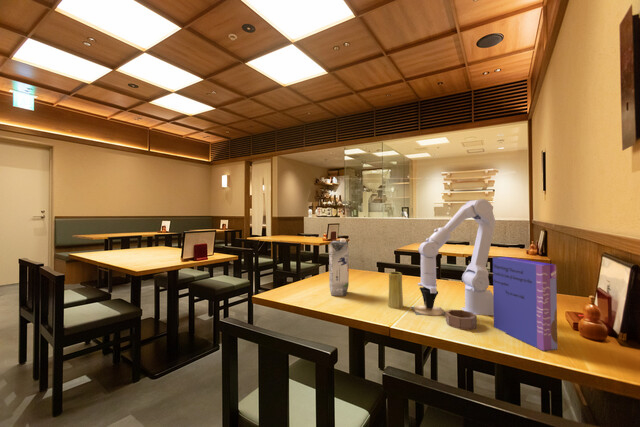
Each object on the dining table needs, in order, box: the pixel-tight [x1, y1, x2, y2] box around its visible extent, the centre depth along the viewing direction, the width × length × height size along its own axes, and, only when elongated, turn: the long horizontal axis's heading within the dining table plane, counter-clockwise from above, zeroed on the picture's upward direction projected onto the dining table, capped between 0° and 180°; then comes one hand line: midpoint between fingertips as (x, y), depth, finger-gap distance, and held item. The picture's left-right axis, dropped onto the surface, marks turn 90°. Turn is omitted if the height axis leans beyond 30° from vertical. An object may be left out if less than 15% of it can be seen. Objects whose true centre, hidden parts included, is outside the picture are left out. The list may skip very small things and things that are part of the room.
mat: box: [410, 306, 446, 317], centre depth 115 cm, size 12×10×1 cm
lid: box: [413, 301, 445, 317], centre depth 115 cm, size 11×11×6 cm
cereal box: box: [492, 256, 559, 352], centre depth 90 cm, size 17×5×24 cm, turn 12°
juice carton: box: [328, 238, 350, 297], centre depth 143 cm, size 9×10×27 cm
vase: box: [387, 271, 404, 310], centre depth 121 cm, size 6×6×14 cm
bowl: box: [445, 309, 478, 331], centre depth 100 cm, size 9×9×4 cm
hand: (428, 307), depth 115 cm, fingers closed on lid, 2 cm apart
